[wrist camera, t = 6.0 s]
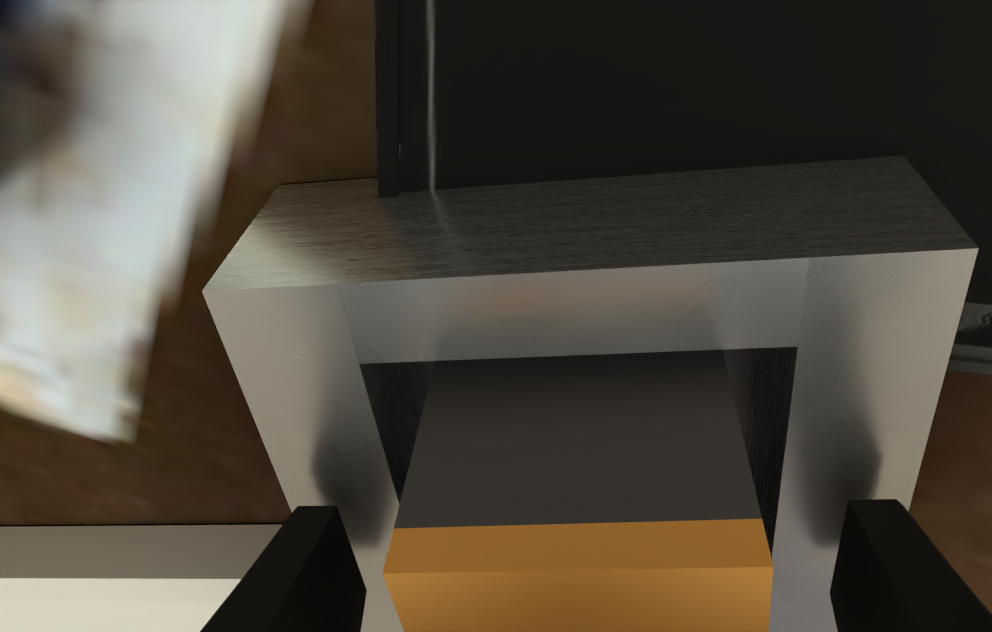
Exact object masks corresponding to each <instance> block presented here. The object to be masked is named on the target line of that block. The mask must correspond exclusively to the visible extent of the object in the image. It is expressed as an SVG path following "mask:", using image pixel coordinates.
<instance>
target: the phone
mask: <svg viewBox="0 0 992 632" xmlns="http://www.w3.org/2000/svg"><path fill="white" fill-rule="evenodd" d="M374 3H375V73H376V142H377V198H388V197H397V196H398V194H399V193H400V192H414V191H427V190H441V189H455V188H468V187H482V186H496V185H509V184H523V183H537V182H550V181H564V180H578V179H591V178H605V177H619V176H632V175H646V174H660V173H673V172H687V171H701V170H714V169H728V168H742V167H755V166H769V165H783V164H796V163H810V162H824V161H837V160H851V159H865V158H878V157H892V156H904V157H905V158H906V159H907V161H908V162H909V163H910V164H911V165H912V167H913V168H914V169H915V170H916V172H917V173H918V174H919V175H920V177H921V178H922V179H923V180H924V182H925V183H926V184H927V185H928V186H929V188H930V189H931V190H932V191H933V193H934V194H935V195H936V196H937V198H938V199H939V200H940V201H941V202H942V204H943V205H944V206H945V207H946V209H947V210H948V211H949V212H950V214H951V215H952V216H953V217H954V219H955V220H956V221H957V222H958V223H959V225H960V226H961V227H962V228H963V230H964V231H965V232H966V233H967V235H968V236H969V237H970V238H971V240H972V241H973V242H974V243H975V244H976V246H977V247H978V248H979V249H978V253H977V256H976V260H975V264H974V268H973V271H972V275H971V279H970V282H969V286H968V290H967V294H966V297H965V301H964V305H963V309H962V312H961V316H960V320H959V324H958V327H957V331H956V335H955V339H954V342H953V346H952V350H951V354H950V357H949V361H948V365H947V369H946V370H951V371H959V372H968V373H977V374H985V375H992V0H374Z"/></svg>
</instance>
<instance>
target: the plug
mask: <svg viewBox="0 0 992 632" xmlns="http://www.w3.org/2000/svg"><path fill="white" fill-rule="evenodd" d="M382 574H383V577H384V579H385V582H386V585H387V587H388V590H389V593H390V595H391V598H392V601H393V603H394V606H395V609H396V612H397V614H398V617H399V620H400V622H401V625H402V628H403V630H404V632H768V629H769V617H770V604H771V592H772V579H773V563H772V558H771V554H770V550H769V546H768V541H767V537H766V533H765V529H764V524H763V520H762V516H761V512H760V507H759V503H758V499H757V495H756V490H755V486H754V482H753V477H752V473H751V469H750V465H749V460H748V456H747V452H746V448H745V443H744V439H743V435H742V431H741V426H740V422H739V418H738V414H737V409H736V405H735V401H734V397H733V392H732V388H731V384H730V379H729V375H728V371H727V367H726V362H725V358H724V354H723V350H698V351H672V352H647V353H621V354H596V355H571V356H545V357H520V358H494V359H469V360H444V361H435V364H434V368H433V372H432V376H431V380H430V384H429V388H428V392H427V396H426V400H425V404H424V408H423V412H422V416H421V420H420V424H419V428H418V432H417V436H416V440H415V444H414V449H413V453H412V457H411V461H410V465H409V469H408V473H407V477H406V481H405V485H404V489H403V493H402V497H401V501H400V505H399V509H398V513H397V517H396V521H395V525H394V529H393V533H392V537H391V541H390V545H389V549H388V553H387V557H386V561H385V565H384V569H383V573H382Z"/></svg>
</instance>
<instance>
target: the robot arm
mask: <svg viewBox="0 0 992 632" xmlns="http://www.w3.org/2000/svg"><path fill="white" fill-rule="evenodd" d="M366 593H367V589H366V586H365V584H364V581H363V578H362V575H361V572H360V570H359V567H358V564H357V561H356V558H355V555H354V553H353V550H352V547H351V544H350V541H349V539H348V536H347V533H346V530H345V527H344V524H343V522H342V519H341V516H340V513H339V510H338V508H337V506H298V507H297V508H296V509H295V510H294V511H293V512H292V513H291V514H290V516H289V517H288V518H287V520H286V521H285V522H284V524H283V525H282V526H281V528H280V529H279V530H278V532H277V533H276V534H275V536H274V537H273V538H272V540H271V541H270V542H269V544H268V545H267V546H266V547H265V549H264V550H263V551H262V553H261V554H260V555H259V557H258V558H257V559H256V561H255V562H254V563H253V565H252V566H251V567H250V569H249V570H248V571H247V572H246V574H245V575H244V576H243V578H242V579H241V580H240V582H239V583H238V584H237V586H236V587H235V588H234V589H233V591H232V592H231V593H230V594H229V596H228V597H227V598H226V599H225V601H224V602H223V603H222V604H221V606H220V607H219V608H218V609H217V611H216V612H215V613H214V614H213V616H212V617H211V618H210V619H209V621H208V622H207V623H206V624H205V626H204V627H203V628H202V629H201V631H200V632H361V626H362V619H363V613H364V606H365V600H366ZM830 598H831V602H832V607H833V612H834V617H835V622H836V627H837V631H838V632H992V614H991V613H990V612H989V611H988V609H987V608H986V607H985V606H984V605H983V604H982V602H981V601H980V600H979V599H978V598H977V596H976V595H975V594H974V593H973V592H972V591H971V589H970V588H969V587H968V586H967V584H966V583H965V582H964V581H963V580H962V578H961V577H960V576H959V575H958V574H957V572H956V571H955V570H954V569H953V568H952V566H951V565H950V564H949V563H948V561H947V560H946V559H945V558H944V556H943V555H942V554H941V553H940V551H939V550H938V549H937V548H936V546H935V545H934V544H933V543H932V541H931V540H930V539H929V538H928V536H927V535H926V534H925V533H924V531H923V530H922V529H921V527H920V526H919V525H918V524H917V522H916V521H915V520H914V518H913V517H912V516H911V515H910V513H909V512H908V511H907V509H906V508H905V507H904V505H903V504H901V503H900V502H899V501H898V500H897V499H857V500H848V502H847V507H846V512H845V517H844V522H843V527H842V532H841V537H840V542H839V548H838V553H837V558H836V563H835V568H834V573H833V578H832V583H831V588H830Z"/></svg>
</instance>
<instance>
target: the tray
mask: <svg viewBox="0 0 992 632" xmlns="http://www.w3.org/2000/svg"><path fill="white" fill-rule="evenodd" d="M281 526H282V525H157V526H30V527H0V632H200V631H201V629H202V628H203V627H204V626H205V624H206V623H207V622H208V621H209V619H210V618H211V617H212V616H213V614H214V613H215V612H216V611H217V609H218V608H219V607H220V606H221V604H222V603H223V602H224V601H225V599H226V598H227V597H228V596H229V594H230V593H231V592H232V591H233V589H234V588H235V587H236V586H237V584H238V583H239V582H240V580H241V579H242V578H243V576H244V575H245V574H246V572H247V571H248V570H249V569H250V567H251V566H252V565H253V563H254V562H255V561H256V559H257V558H258V557H259V555H260V554H261V553H262V551H263V550H264V549H265V547H266V546H267V545H268V544H269V542H270V541H271V540H272V538H273V537H274V536H275V534H276V533H277V532H278V530H279V529H280V528H281Z"/></svg>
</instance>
